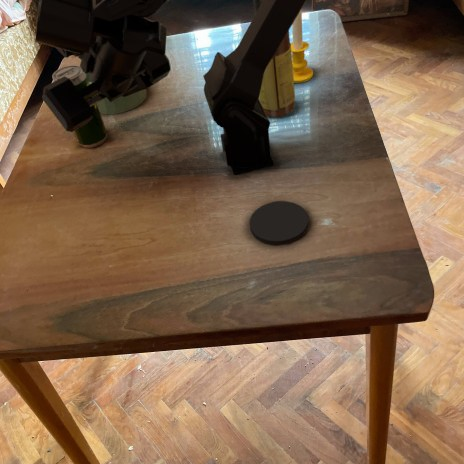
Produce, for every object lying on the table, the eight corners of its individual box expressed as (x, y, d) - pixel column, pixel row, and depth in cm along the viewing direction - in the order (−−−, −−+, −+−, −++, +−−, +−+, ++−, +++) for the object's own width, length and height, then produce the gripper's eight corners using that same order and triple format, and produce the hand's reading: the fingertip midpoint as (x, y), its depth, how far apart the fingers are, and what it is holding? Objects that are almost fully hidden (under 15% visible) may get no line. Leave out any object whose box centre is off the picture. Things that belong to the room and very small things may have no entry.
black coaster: (297, 199, 74) (297, 195, 73) (316, 236, 69) (316, 231, 68) (243, 213, 73) (243, 209, 73) (258, 251, 68) (258, 247, 68)
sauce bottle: (293, 97, 91) (287, -31, 75) (297, 116, 87) (292, -15, 71) (256, 102, 91) (243, -24, 76) (258, 122, 87) (245, -7, 72)
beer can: (85, 152, 88) (57, 85, 79) (73, 139, 91) (45, 73, 82) (113, 139, 90) (89, 72, 81) (100, 127, 93) (76, 60, 84)
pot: (143, 79, 102) (135, 51, 98) (150, 105, 95) (142, 76, 91) (90, 92, 102) (80, 64, 97) (94, 119, 95) (83, 91, 91)
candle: (280, 81, 95) (274, -13, 83) (291, 67, 97) (287, -26, 85) (306, 84, 93) (304, -11, 81) (317, 70, 95) (317, -25, 83)
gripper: (136, -30, 69) (114, 37, 83) (16, 27, 62) (14, 89, 76) (187, 44, 71) (156, 97, 85) (76, 107, 64) (63, 153, 78)
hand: (99, 107), depth 81 cm, fingers open, 9 cm apart
